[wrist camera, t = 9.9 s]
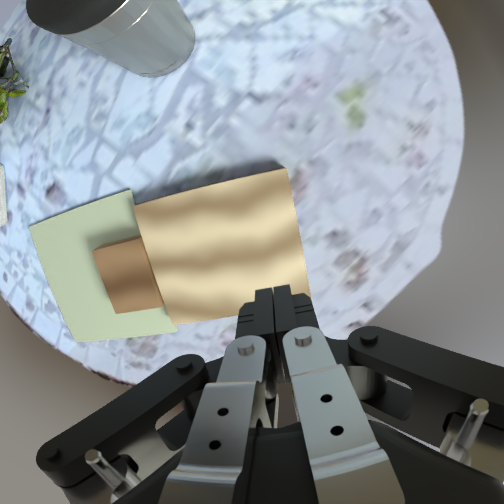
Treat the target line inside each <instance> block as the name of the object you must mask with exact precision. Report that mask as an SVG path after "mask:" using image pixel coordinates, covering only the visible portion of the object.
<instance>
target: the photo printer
mask: <svg viewBox="0 0 504 504" xmlns="http://www.w3.org/2000/svg"><path fill="white" fill-rule="evenodd" d="M6 223H7V205H6V190H5V172H4V166H3V165H2V164H0V226H3V225H5V224H6Z"/></svg>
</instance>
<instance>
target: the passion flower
mask: <svg viewBox="0 0 504 504" xmlns="http://www.w3.org/2000/svg"><path fill="white" fill-rule="evenodd" d="M11 42H12V39H11V38H9V39H7V41H6V42H5V44H4V45H2V46H0V79H7V80H8V81H7V82H6V83H4V84H1V83H0V124H1V123H2V121H5V120H6V119H7V116H8V96H10V97H17V96H21V95H23V94H24V93H26V91H21V90H15V89H13V88H12V85H13V84H14V85H19V84H24V85H26V87H28V88H29V86H28V85H27V84H26V83H25V82H24V81H23V79H22V78H21V77H20V75H19V72H18V71H17V70H16V69H15V67H14V63H13V60H12V57H11V53H10V50H9V46H10V44H11ZM7 53H8V54H9V57H10V58H9V57H7V56H6V55H7ZM9 61H11V64H12V67H13V71H14V73H13V76H12V77H11V78H1V77H3V76H4V75H5V73H6V68H7V66H8V63H9ZM11 80H12V83H11V85H10V87H8V88H7V85H8V83H9V82H10V81H11Z"/></svg>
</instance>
